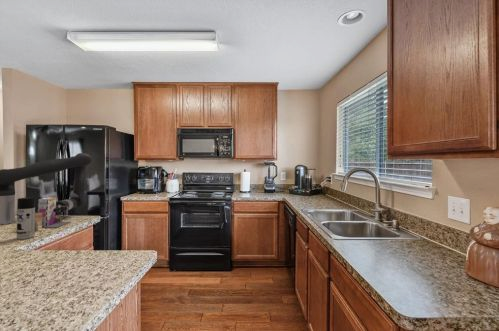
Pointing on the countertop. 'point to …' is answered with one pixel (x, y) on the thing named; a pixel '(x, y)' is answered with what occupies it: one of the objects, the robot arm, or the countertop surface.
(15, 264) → the countertop surface
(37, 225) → the rack
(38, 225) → the maple offcut
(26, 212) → the spray can
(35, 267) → the countertop surface
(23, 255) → the countertop surface
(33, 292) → the countertop surface
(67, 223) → the rubber mat
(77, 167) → the robot arm
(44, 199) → the candy bar box
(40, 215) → the cherry offcut
